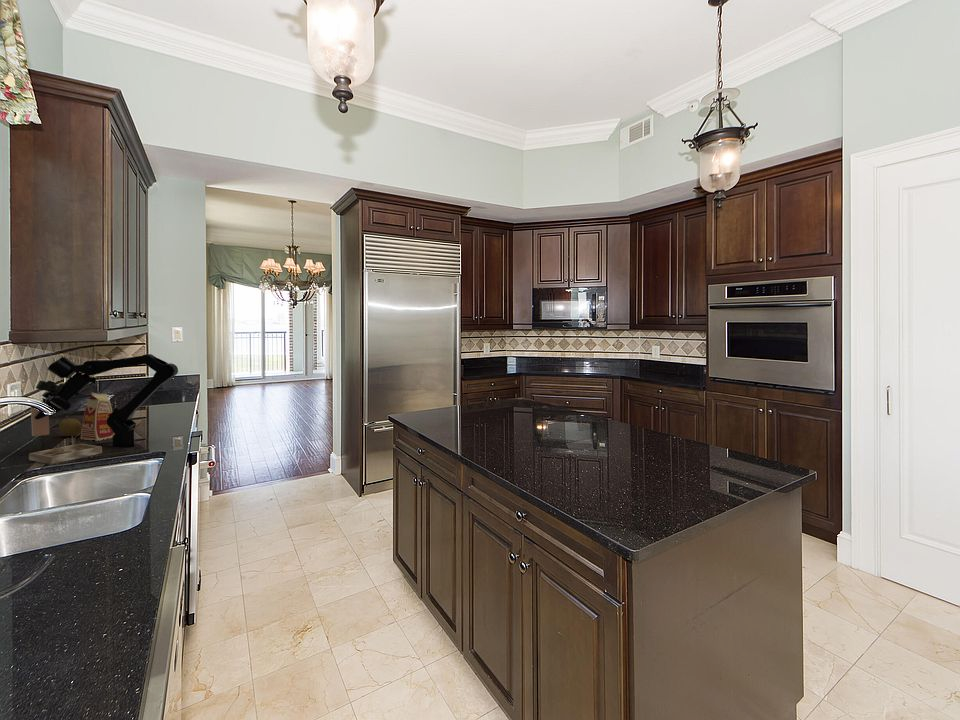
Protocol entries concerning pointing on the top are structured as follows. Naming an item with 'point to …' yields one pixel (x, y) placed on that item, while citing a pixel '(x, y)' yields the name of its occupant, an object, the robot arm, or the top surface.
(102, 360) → the robot arm
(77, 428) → the potato
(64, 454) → the beige tray
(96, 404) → the milk carton
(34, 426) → the pink rectangular block
